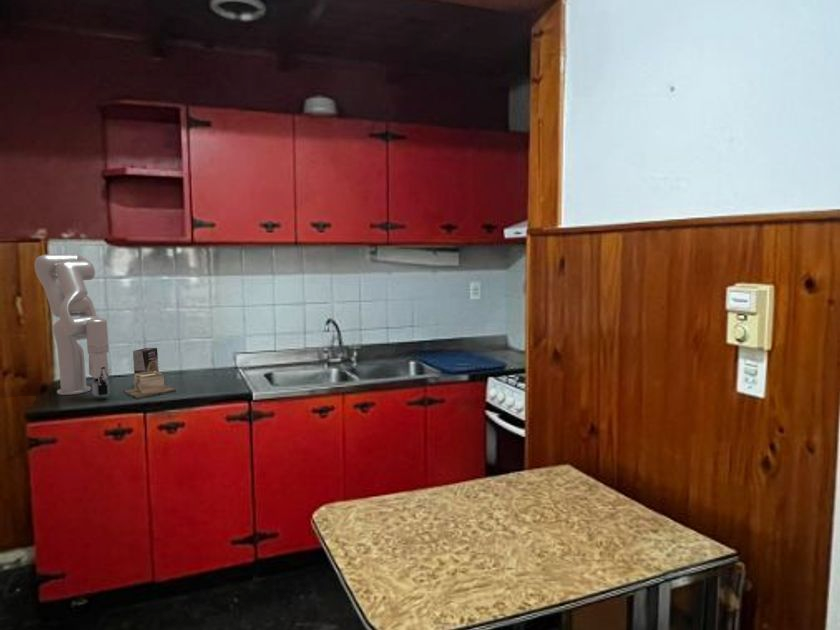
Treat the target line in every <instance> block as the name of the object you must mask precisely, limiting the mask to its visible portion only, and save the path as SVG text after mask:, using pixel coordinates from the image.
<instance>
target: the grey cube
mask: <svg viewBox="0 0 840 630" xmlns="http://www.w3.org/2000/svg"><path fill="white" fill-rule="evenodd" d="M98 385H99V381H94V382H93V381H91V393H92V395H93V396H94V397H101V396H102V395H99V391H98ZM107 391H108V394H104V395H103V396H106V395H110V382H109V381H108V380H107Z"/></svg>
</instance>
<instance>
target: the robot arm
mask: <svg viewBox="0 0 840 630" xmlns="http://www.w3.org/2000/svg"><path fill="white" fill-rule="evenodd" d="M34 271H35V274H36V277H37V279H38V280H39V282H40V284H41V285H42V287H43V289H44V291H45V295H46V298H47V300H48V305H49V308H50V311H51V314H52V315H53V316H54V317H56V318H59V320H56V322H55V323H54V324H53V326H52V329H53V330H52V332H53V336H54V339H55V343H56V347H57V354H58V355H57V357H58V367H59V369H58V370H59V379H60V381H59V382H60V388H59V389H57V390H56V394H58V395H61V396H64V395H65V396H67V395H70V396H71V395H78V394H79V395H80V394H84V393H88V392H90V391H92V386H89V385H87V376H86V364H85V363H86V361H85V352H84V349H83V347H82V346H81V345H80V344H79V343H78V341H81V340H86V345H87V346H86V348H87V354H88V374H89V375H88V376H90V377H92V378H93V381H92V382H94V381H99V385H98V391H99V395H101V396H105V395H104V394H107V395H109V394H108V391H107V381H108V377H109V375H110V373H109V370H110V369H109V362H108V355H107V354H108V353H109V352H110V350H109V335H108V333H109V332H108V321H107V319H106V318H102V317H99V316H97V313H96V309H95V306H94V304H93V300H92V299H91V298H90V296H88V290H87V287H86V284H85V282H84V281H90V280H93V279H94V278H95V276H96V275H95V274H96V270H95V267H94V265H93V263H92V262H90V260H89V259H87V258H85V257H83V256H81V255H80V254H78V253H48V254H47V253H46V254H42V255H40V256H38V257H37V258H35V261H34Z"/></svg>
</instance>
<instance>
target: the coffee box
mask: <svg viewBox="0 0 840 630" xmlns="http://www.w3.org/2000/svg"><path fill="white" fill-rule="evenodd" d="M132 356H133V359H132V360H133V361H132V362H133V375H134V374H138V373H144V372H151V371H156V372H159V373H160V370H159V357H158V356H159V355H158V348H157V347H145V348H144V347H143V348H140V349H136V350H132Z"/></svg>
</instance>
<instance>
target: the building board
mask: <svg viewBox="0 0 840 630" xmlns="http://www.w3.org/2000/svg"><path fill="white" fill-rule="evenodd" d="M133 375H134V376H133V386H134V388H128V389H123V390H122V392H124V393H123V394H125V393H126V395H127V394H128V395H127V396H129V395H130V397H131V396H133V397H132V398H134V397H135V398H134V399H136V398H140V399H143V398H142V397H146V398H149V397H148V396H151V397H154V396H153V395H157V394H162V395H164V394H163V393H168V394H170V393H169V392H173V393H176V392H177V390H176V388H172V387H170V386H168V385H165V379H164V378H165V377H164V375H163V373H162V372H160V371H159V372H156V371H151V372H144V373H138V374H134V373H133ZM175 391H176V392H175ZM157 396H158V395H157Z"/></svg>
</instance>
